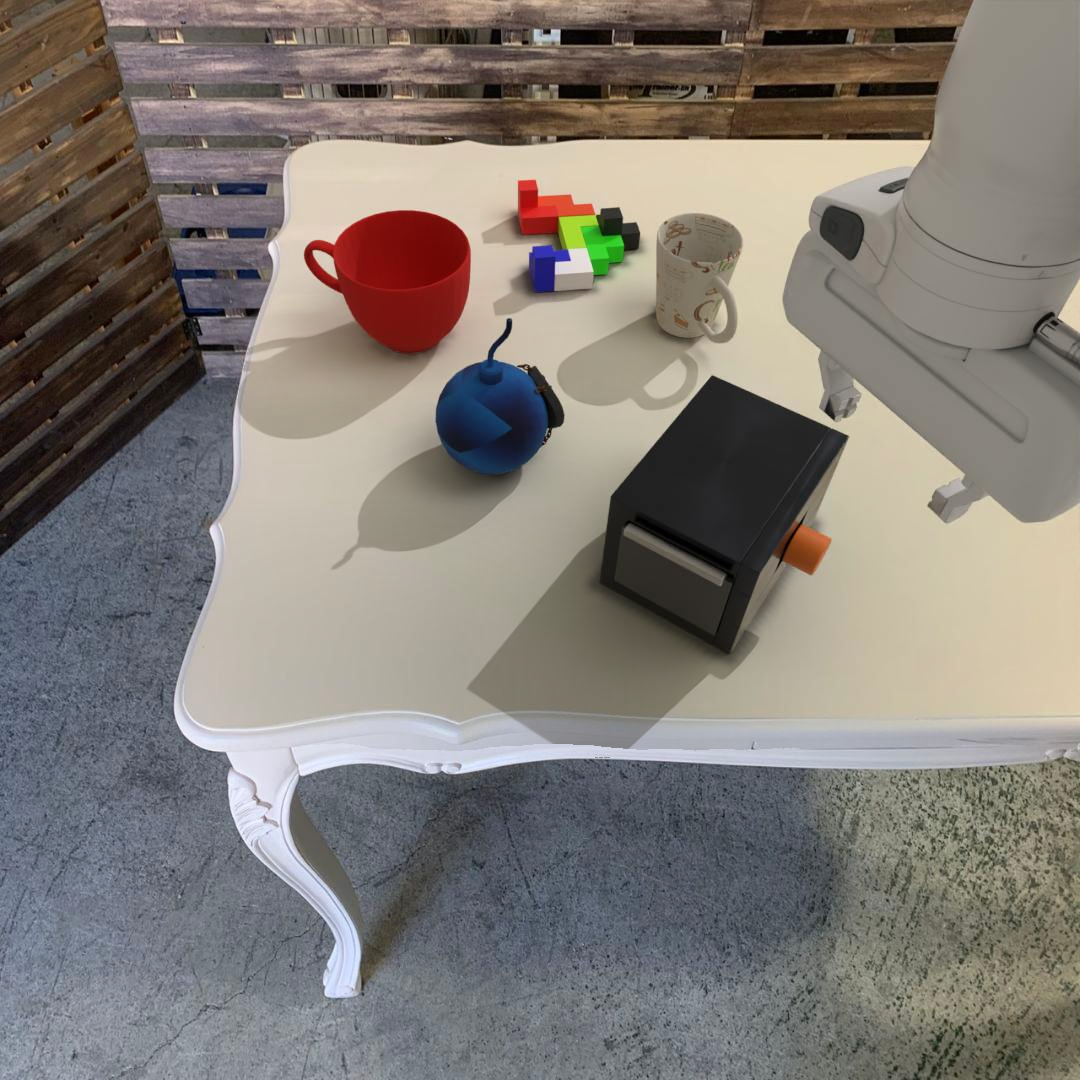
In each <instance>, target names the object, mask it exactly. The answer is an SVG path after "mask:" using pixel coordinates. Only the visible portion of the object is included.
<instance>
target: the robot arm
mask: <svg viewBox="0 0 1080 1080" xmlns="http://www.w3.org/2000/svg"><path fill="white" fill-rule="evenodd" d="M933 123H934V124H933V130H932V134H931V138H930V141H929V144H928V147H927V149H926V150H925V152H924V154H923V155H922V157H921V159H920V160H919V161H918V163H917V164H916V165H915V166H909V165H908V166H907V165H902V166H898V167H894V168H890V169H885V170H882V171H878V172H875V173H872V174H868V175H865V176H862V177H859V178H856V179H853V180H851V181H847V182H845V183H843V184H840V185H838V186H836V187H833V188H831V189H828V190H826V191H824V192H822V193H819V194H818V195H816V196H815V197H814V199H813V200H812V203H811V205H810V209H809V213H808V214H809V215H808V226H809V227H808V228H809V229H810V230H808V231H807V232H805V234H803V236H802V237H801V239H800V240H799V241H798V244H797V246H796V248H795V252H794V254H793V257H792V259H791V263H790V265H789V269H788V272H787V276H786V279H785V283H784V286H783V292H782V299H781V300H782V305H783V311H784V315H785V318H786V320H787V322H788V323H789V324H790V325H791V326H792V327H793V328H795V329H796V330H797V331H798V332H799V333H801V334H802V335H803V336H804V337H805V338H806V339H808V341H810V342H811V343H812V344H813V345H814V346H816V347H817V348H818V349H819V350H820V352H819V354H818V358H817V361H818V366H819V371H820V378H821V383H822V388H823V389H824V391H823V393H822V397H821V399H820V402H819V405H818V407H819V409H820V411H822V412H823V413H825V415H827V417H829V418H830V419H831V420H832V421H833V422H834V423H839V422H841V421H842V419H848V418H849V417H851V416H853V414H854V413H855V412H856V411H857V409H858V405H857V404H858V403H859V402H860V400H861V398H862V396H863V394H862V393H861V391H859V390H858V389H857V387H855V386H854V385H855V383H854V380H855V381H856V382H857V383H858V384H860V386H862V387H863V388H864V389H865V390H867V391H868V393H870V394H871V395H872V396H873V397H875V398H876V399H877V400H878V401H879V402H881V403H882V404H883V405H884V406H885V407H886V408H887V409H888V410H889V411H891V412H892V413H893V414H894V415H895V416H896V417H898V418H899V419H900V420H901V421H902V422H904V423H905V424H906V425H907V426H908V427H909V428H911V429H912V430H913V431H914V432H915V433H916V434H918V435H919V436H920V437H921V438H922V439H923V440H924V441H926V443H928V444H929V445H930V446H931V447H933V449H935V450H936V451H937V452H938V453H939V454H940V455H942V456H943V457H944V458H945V459H947V461H949V462H950V463H951V464H952V465H953V466H954V467H956V469H958V470H959V471H961V473H962V474H964V476H963V478H962V480H961V479H960V477H957V478H955V479H953V480H951V481H949V483H948V484H944V485H942V486H940V487H937V488H935V490H934V492H933V493H932V496H931V500H930V501H928V502H927V508H928V509H929V510H930V511H931V512H933V514H934V515H935V516H936V517H937V518H939V519H940V520H941V521H942V522H943V523H944V524H946V525H947V524H950V523H952V522H954V521H956V520H958V519H960V518H961V517H962V516H965V514H966V513H967V512H968V511H969V509H970V508H971V506H972V504H973V503H975V502H979V501H980V500H981V501H982V500H983V499H985V498H987V497H988V496H989V497H990V498H992V499H993V500H994V501H995V502H996V503H997V504H999V506H1000V507H1002V508H1003V509H1004V510H1005V511H1006V512H1008V513H1009V514H1010V515H1011V516H1012V517H1014V518H1015V519H1016V520H1017V521H1019V522H1021V523H1022V524H1034V523H1044V522H1048V521H1051V520H1053V519H1055V518H1057V517H1059V516H1062V515H1063V514H1065V513H1066V512H1068V511H1070V510H1072V509H1073V508H1075V507H1076V506H1078V505H1079V504H1080V332H1079V331H1078V330H1076V329H1075V328H1073V327H1072V326H1070V325H1068V324H1067V323H1066V322H1064V321H1063V320H1062V319H1060V318H1058V317H1059V316H1060V314H1061V312H1062V311H1063V309H1064V307H1065V305H1066V303H1067V302H1068V300H1069V299H1070V296H1071V295H1072V293H1073V291H1074V289H1075V288H1076V286H1077V284H1078V283H1079V282H1080V0H973V1H972V3H971V6H970V8H969V9H968V13H967V16H966V17H965V20H964V22H963V24H962V27H961V30H960V32H959V35H958V37H957V40H956V42H955V45H954V48H953V50H952V53H951V56H950V58H949V61H948V64H947V66H946V69H945V72H944V74H943V77H942V79H941V82H940V85H939V88H938V92H937V95H936V99H935V104H934V122H933Z"/></svg>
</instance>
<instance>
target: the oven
mask: <svg viewBox="0 0 1080 1080" xmlns="http://www.w3.org/2000/svg"><path fill="white" fill-rule="evenodd" d="M849 439H850V436H849V434H846V433H844V432H842V431H839V430H836V429H834V428H832V427H829V426H828V425H825V424H823V423H821V422H819V421H817V420H814V419H812V418H810V417H808V416H805V415H803V414H801V413H799V412H797V411H794V410H792V409H790V408H787V407H785V406H783V405H781V404H778V403H777V402H774V401H772V400H770V399H767V398H765V397H763V396H760V395H758V394H756V393H755V392H752V391H749V390H747V389H744V388H742V387H740V386H738V385H736V384H733V383H731V382H729V381H727V380H724V379H722V378H721V377H718V376H716V375H714V374H711V376H709V378H708V379H707V380H706V382H705V383H704V384H703V385H702V386H701V387H700V388H699V390H698V391H697V392H696V393H695V395H694V396H693V397H692V398H691V399H690V401H689V402H688V403H687V404H686V405H685V406H684V408H683V409H682V410H681V411H680V413H679V414H678V415H677V416H676V418H675V419H674V420H673V421H672V422H671V423H670V424H669V426H668V427H667V428H666V430H665V431H664V432H663V433H662V434H661V435H660V436H659V438H658V439H657V440H656V441H655V442H654V444H653V445H652V446H651V447H650V448H649V450H647V452H646V453H645V454H644V456H643V457H642V458H641V459H640V461H639V462H638V463H637V464H636V465H635V466H634V468H633V469H632V470H631V471H630V472H629V474H628V475H627V476H626V477H625V478H624V479H623V481H622V482H621V483H620V484H619V486H618V487H617V488H616V489H615V490H614V491H613V493H612V494H610V499H609V506H608V513H607V522H606V529H605V536H604V543H603V550H602V551H603V553H602V559H601V566H600V573H599V581H598V583H599V584H601V585H603V586H605V587H607V588H608V589H610V590H612V591H614V592H615V593H616V594H619V595H621V596H623V597H624V598H626V599H628V600H630V601H631V602H633V603H635V604H637V605H638V606H640V607H643V608H644V609H646V610H648V611H649V612H651V613H653V614H655V615H657V616H659V617H660V618H662V619H664V620H665V621H667V622H669V623H671V624H673V625H675V626H676V627H678V628H680V629H682V630H684V631H686V632H688V633H689V634H691V635H693V636H694V637H697V638H698V639H700V640H702V641H703V642H706V643H707V644H709V645H711V646H713V647H714V648H716V649H718V650H720V651H721V652H723V653H725V654H727V655H731V653H732V652H733V650H734V649H735V647H736V646H737V644H738V642H739V640H741V638H742V636H743V634H744V633H745V631H746V629H748V627H749V625H750V623H751V622H752V621H753V619H754V617H755V615H756V614H757V612H758V611H759V609H760V608H761V606H762V604H763V603H764V601H765V600H766V598H767V597H768V595H769V594H770V592H771V590H772V589H773V587H774V586H775V584H776V583H777V581H778V579H779V578H780V576H781V575H782V573H783V572H784V570H785V569H786V566H787V565H788V564H787V563H785V562H783V561H782V559H783V556H784V553H785V551H786V549H787V547H788V545H789V543H790V541H791V539H792V538H793V536H794V534H795V533H796V531H797V529H798V528H799V527H800V526H801V525H805V526H807V527H809V528H811V527H812V526H813V524H814V521H815V519H816V517H817V515H818V512H819V510H820V507H821V505H822V502H823V500H824V497H825V496H826V493H827V491H828V488H829V486H830V483H831V481H832V479H833V477H834V474H835V472H836V470H837V467H838V464H839V463H840V460H841V458H842V455H843V453H844V450H845V448H846V446H847V444H848V441H849Z"/></svg>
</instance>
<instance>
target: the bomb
mask: <svg viewBox="0 0 1080 1080" xmlns="http://www.w3.org/2000/svg"><path fill="white" fill-rule="evenodd" d="M512 329H513V319H512V318H511V317H508V318H506V321H505V329H504V331H503V332H502V334H501V335H500V336H499V337H497V339H496V340H495V341H494V342H493V343H492V344H491V346H490V348H489V349H488V352H487V358H486V359H484V360H483V361H480V362H475V363H471V364H469V365H467V366H465V367H463V368H462V369H461V370H458V371H457V372H456V373H455V374H453V376H452V377H451V378H449V380H448V381H447V382H446V383H445V385H444V387H443V388H442V391H441V392H440V394H439V395H438V399H437V402H436V406H435V420H434V421H435V426H436V431H437V435H438V437H439V440H440V443H441V445H442V447H443V448H444V449H445V450H446V452H447V453H448V455H449V456H450V457H451V458H452V459H453V460H454V461H456V463H458V464H459V465H460V466H461V467H464V468H466V469H467V470H470V471H473V472H476V473H479V474H483V475H501V474H502V475H503V474H507V473H509V472H513V471H516V470H517V469H519V468H521V467H523V466H524V465H525V464H527V463H528V462H529V461H530V460H531V459H532V458H533V457H534V456H535V455H536V454H537V453H538V451H539V450H540V448H542V447H543V446H545V445H546V444H547V442H548V440H549V439H550V438H551V436H552V431H553V429H555V428H560V427H561V426H562V425H563V424H564V423H565V411H564V407H563V405H562V403H561V401H560V398H559V397H558V396H557V394H556V392H555V391H554V389H553V386H552V385H551V384H549V382H548V381H547V380H546V377H545V375H544V374H542V372H541V371H540V369H539V368H538V367H537V365H533V366H530V364H527V363H524V364H517V365H516V366H515V365H514V364H511V363H508V362H505V361H499V360H497V359H494V356H495V353H496V352H497V349H498V348H499V347H500V346H501V345H502V344H503V343H504V342H506V341H507V339H509V336H510V335H511V333H512Z"/></svg>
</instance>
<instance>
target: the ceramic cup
mask: <svg viewBox="0 0 1080 1080" xmlns="http://www.w3.org/2000/svg"><path fill="white" fill-rule="evenodd" d="M314 251H320V252H323V253H325V254H327V255H328V256H330V258H332V259H333V267H334V271H335V274H336V277H334V276H333V275H331V274H330V273H328V271H326V270H325V269H324V268H323V267H322V266H321V264H319V262H318V260H317V259H316V258H315V255H314ZM303 259H304V263H305V264H306V266H307V268H308V270H309V271H310V272H311V274H312V275H313V276H314V277H315V278H316V279H317V280H318V281H319V282H320V283H322V284H323V285H325V286H326V287H327V288H329V289H331V290H334V291H335V292H337V293H339V294H341V295H342V297H343V299H344V301H345V303H346V305H347V307H348V310H349V312H350V315H351V316H352V317H353V319H354V320H355V322H356V323H357V324H358V325H359V326H360V328H361V329H362V330H363V331H364V332H365V333H366V334H367V335H368V336H369V337H370V338H372V339H374V341H376V342H378V343H380V344H381V345H383V346H385V347H386V348H388V349H389V350H391V351H393V352H397V353H401V354H419V353H422V352H426V351H429V350H431V349H433V348H435V346H437V345H438V344H439V343H440V342H441V341H442V340H443V339H444V338H446V337H447V336H448V335H449V334H450V333H451V332H452V330H454V328H455V326H456V325H457V324H458V322H459V321H460V319H461V317H462V314H463V312H464V309H465V307H466V304H467V301H468V298H469V292H470V284H471V282H470V281H471V265H472V249H471V244H470V242H469V239H468V236H467V235H466V233H465V232H464V230H463V229H462V228H460V227H459V225H457V224H456V223H455V222H453V221H451V220H449V219H448V218H446V217H443V216H441V215H439V214H435V213H432V212H428V211H421V210H413V209H410V210H409V209H397V210H388V211H387V210H386V211H383V212H378V213H374V214H371V215H369V216H366V217H363V218H361V219H359V220H357V221H355V222H354V223H352V224H350V225H349V226H347V227H346V228H345V229H344V230H343V231H342V232H341V233H340V234H339V235H338V237H337V239H336V241H335V242H334V244H333V243H331V242H329V241H326V240H322V239H314V240H311V241H310V242H309V243H308V244H306V246H305V248H304V251H303Z"/></svg>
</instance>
